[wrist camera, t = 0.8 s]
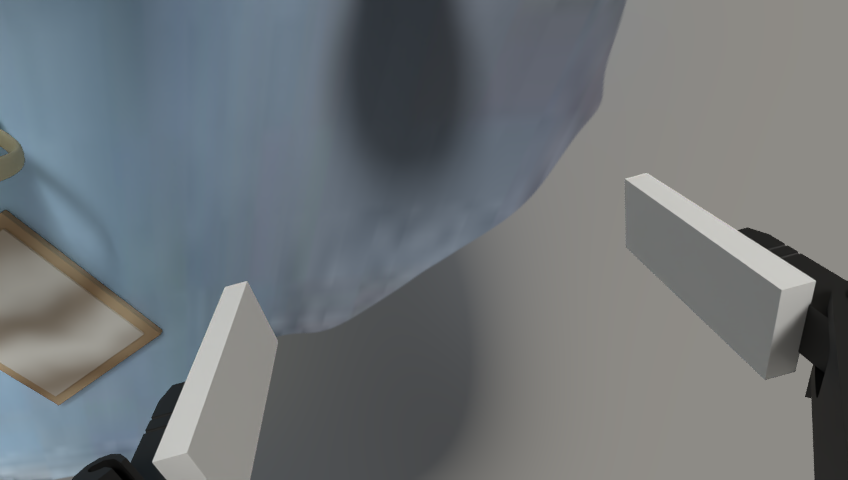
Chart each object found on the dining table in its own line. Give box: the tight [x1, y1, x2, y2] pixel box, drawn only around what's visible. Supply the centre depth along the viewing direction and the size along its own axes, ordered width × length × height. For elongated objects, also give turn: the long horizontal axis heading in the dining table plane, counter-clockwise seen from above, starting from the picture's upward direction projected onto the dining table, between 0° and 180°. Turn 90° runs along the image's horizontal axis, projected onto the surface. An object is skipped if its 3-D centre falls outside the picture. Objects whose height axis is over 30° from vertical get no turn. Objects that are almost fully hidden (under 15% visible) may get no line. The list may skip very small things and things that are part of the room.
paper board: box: [0, 210, 163, 405], centre depth 43 cm, size 16×14×1 cm
